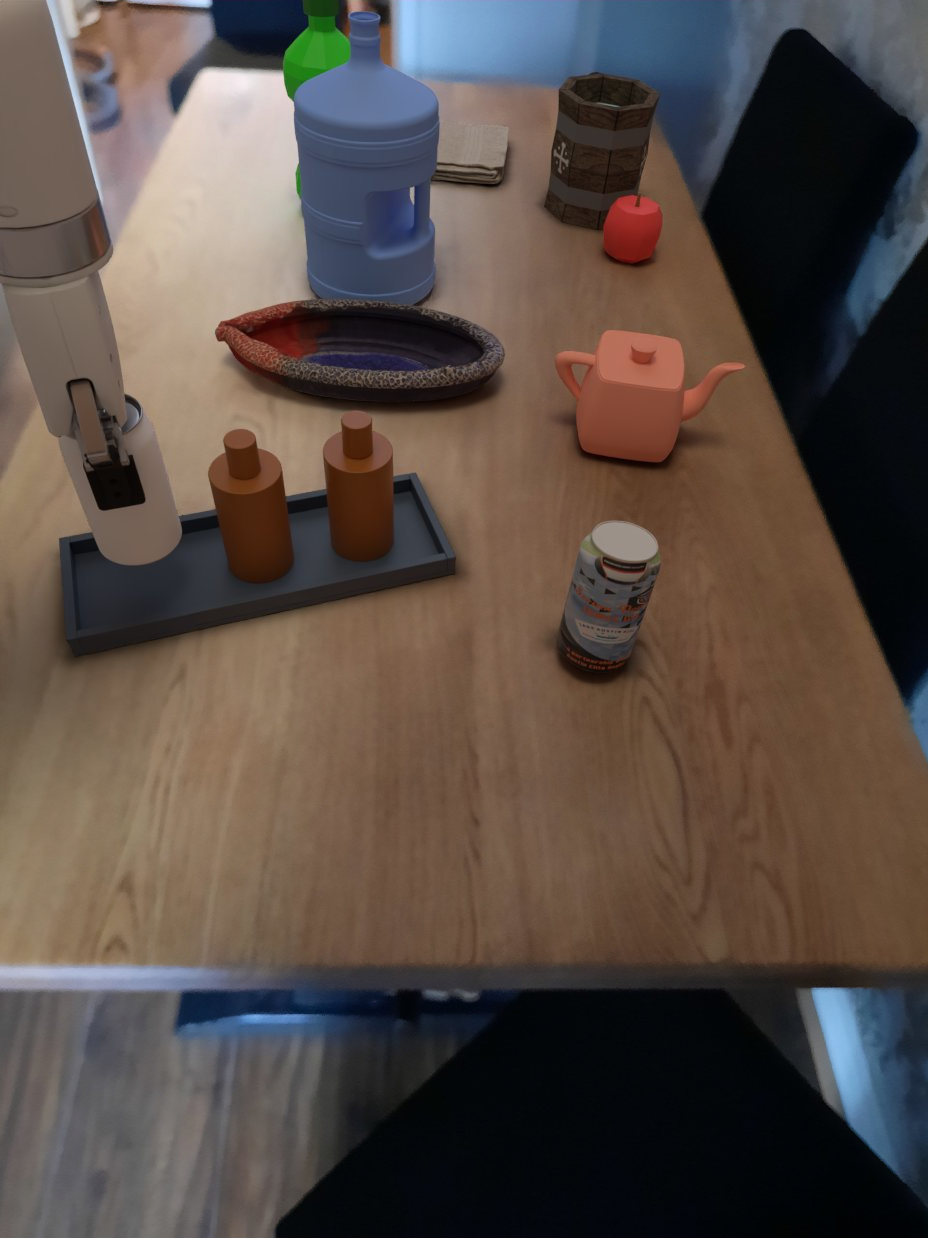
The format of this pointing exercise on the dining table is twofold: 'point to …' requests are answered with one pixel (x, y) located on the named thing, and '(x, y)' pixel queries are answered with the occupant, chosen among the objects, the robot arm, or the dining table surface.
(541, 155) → the dining table surface
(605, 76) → the mug
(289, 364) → the dish
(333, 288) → the water jug
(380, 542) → the amber bottle
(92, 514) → the can
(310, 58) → the plastic bottle
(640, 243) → the apple
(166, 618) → the tray
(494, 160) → the washcloth
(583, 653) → the beverage can
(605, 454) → the teapot
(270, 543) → the amber bottle
